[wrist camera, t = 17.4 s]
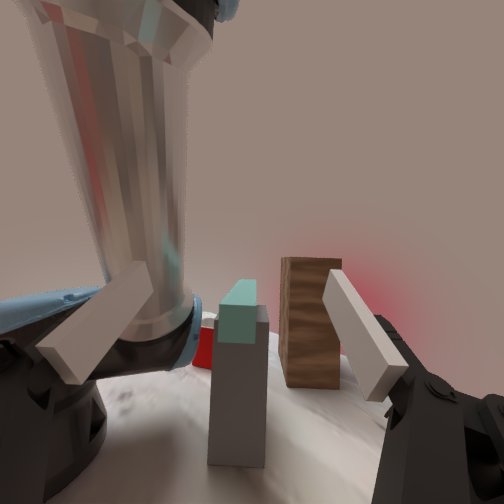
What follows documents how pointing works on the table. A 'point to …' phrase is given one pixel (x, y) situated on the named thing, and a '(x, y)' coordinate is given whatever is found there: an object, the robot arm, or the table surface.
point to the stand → (307, 324)
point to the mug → (205, 344)
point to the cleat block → (239, 398)
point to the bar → (238, 314)
